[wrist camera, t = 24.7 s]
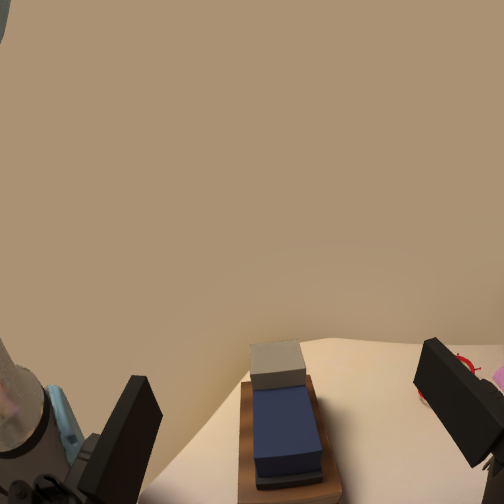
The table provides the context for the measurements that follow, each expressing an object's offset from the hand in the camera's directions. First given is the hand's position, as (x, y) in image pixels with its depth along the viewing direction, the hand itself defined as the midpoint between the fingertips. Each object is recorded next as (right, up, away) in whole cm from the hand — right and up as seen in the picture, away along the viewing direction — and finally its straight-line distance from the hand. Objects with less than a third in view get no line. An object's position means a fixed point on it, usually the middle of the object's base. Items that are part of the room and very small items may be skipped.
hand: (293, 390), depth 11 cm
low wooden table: (+3, -25, +22) cm, 34 cm away
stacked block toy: (+2, -19, +21) cm, 28 cm away
